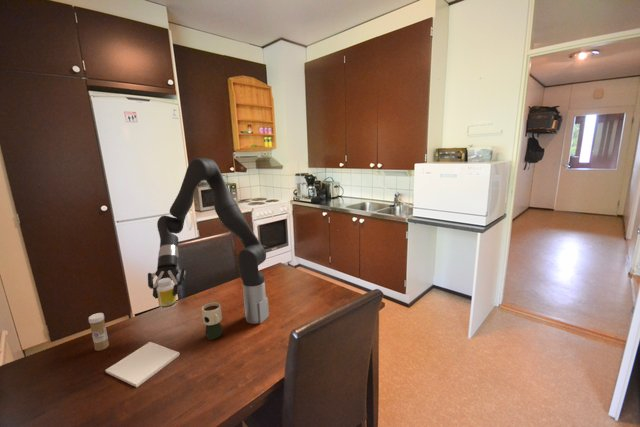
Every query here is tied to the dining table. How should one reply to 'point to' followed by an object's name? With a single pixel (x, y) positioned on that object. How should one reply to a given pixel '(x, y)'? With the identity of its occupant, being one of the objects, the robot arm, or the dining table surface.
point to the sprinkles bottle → (98, 331)
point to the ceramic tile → (142, 363)
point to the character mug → (212, 319)
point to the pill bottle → (166, 294)
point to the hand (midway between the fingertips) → (165, 296)
